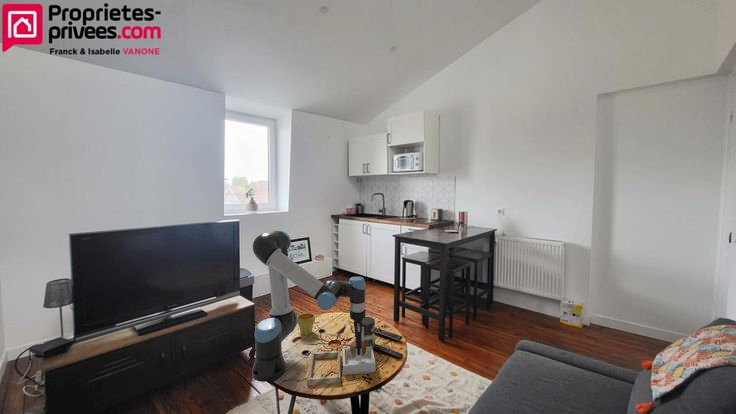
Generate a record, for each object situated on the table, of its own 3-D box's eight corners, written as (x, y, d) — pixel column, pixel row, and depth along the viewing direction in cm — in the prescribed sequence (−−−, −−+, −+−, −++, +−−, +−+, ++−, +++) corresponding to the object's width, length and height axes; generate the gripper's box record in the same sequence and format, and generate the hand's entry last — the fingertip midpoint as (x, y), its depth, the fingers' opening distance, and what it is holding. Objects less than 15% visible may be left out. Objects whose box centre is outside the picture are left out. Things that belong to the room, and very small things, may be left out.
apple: (347, 358, 142) (346, 342, 142) (354, 349, 149) (354, 334, 149) (362, 362, 139) (361, 345, 138) (369, 353, 146) (368, 337, 146)
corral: (307, 385, 130) (307, 379, 130) (311, 357, 151) (311, 352, 151) (340, 382, 131) (340, 377, 131) (340, 355, 152) (340, 350, 152)
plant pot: (306, 326, 185) (306, 311, 184) (318, 331, 179) (318, 315, 178) (293, 333, 176) (293, 317, 176) (305, 338, 170) (305, 321, 170)
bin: (343, 375, 136) (343, 365, 136) (342, 356, 151) (342, 348, 151) (375, 372, 138) (375, 363, 137) (372, 354, 153) (371, 346, 152)
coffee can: (376, 341, 166) (376, 317, 165) (373, 351, 156) (372, 325, 155) (358, 339, 168) (358, 315, 167) (354, 349, 158) (353, 323, 157)
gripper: (367, 318, 133) (367, 367, 134) (363, 301, 153) (364, 343, 155) (350, 319, 132) (351, 368, 133) (349, 301, 153) (349, 344, 154)
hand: (358, 355), depth 144 cm, fingers closed on apple, 8 cm apart
